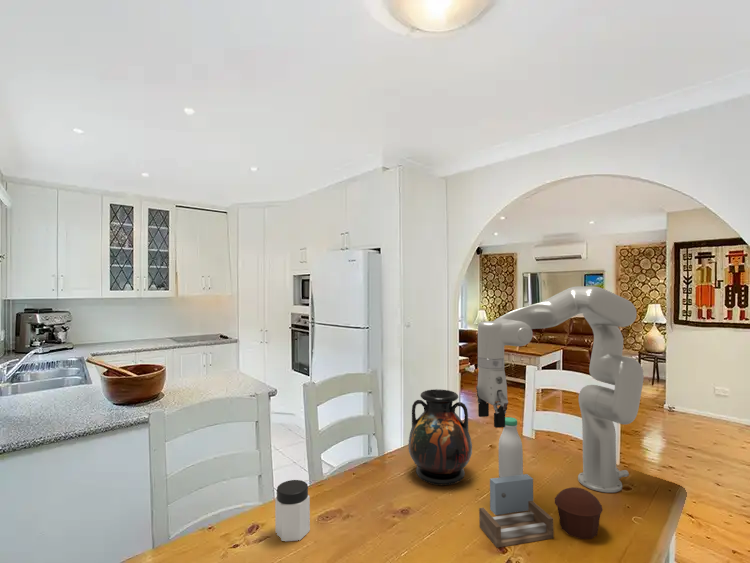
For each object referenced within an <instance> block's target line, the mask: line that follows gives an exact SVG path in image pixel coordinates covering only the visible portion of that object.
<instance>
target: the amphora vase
mask: <svg viewBox="0 0 750 563" xmlns="http://www.w3.org/2000/svg"><path fill="white" fill-rule="evenodd" d="M419 395H420V398H421V399H422V400H421V399H416V400H415V401H414V402H413V404H412V405H411V406H412V407H411V429H410V432H409V437H408V453H409V456H410V458H411V460H412V461H413V462H414V464H415V465H416V469H415V474H416V475H417V477H418V478H420V480H422V481H424V482H426V483H429V484H431V485H437V486H450V485H455V484H457V483H459V482H461V481H462V480H463V479H464V478H465V475H466V474H465V469H464V468H465V467H466V466H467V465H468V464H469V462H470V459H471V457H472V454H473V442H472V438H471V435H470V432H469V413H468V407H467V405H466V404H465V403H463V402H461V401H459V402H455V401H457V400H458V398H459V395H458V393H456V392H455V391H452V390H449V389H438V388H436V389H427V390H424V391H422V392H421V393H420V394H419ZM424 401H425V402H424ZM453 402H455V403H454V404H453ZM418 405H421V406H422V407H423V412H422V413H421V414H420V415H419V416H418V418H417V417H416V416H417V415H416V409H417V406H418ZM458 407H461V408H462V410H463V413H464V419H463V420H464V421H463V420H462V419H461V418H460V416H459V415H458V414H457V413H456V408H458Z"/></svg>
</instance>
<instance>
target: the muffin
mask: <svg viewBox="0 0 750 563" xmlns="http://www.w3.org/2000/svg"><path fill="white" fill-rule="evenodd" d="M554 504H555V506H556V507H557V513H558V518H559V525H560V530H562V531H563V532H565V534H567V535H569V536H571V537H575V538H577V539H579V540H585V539H586V540H592V539H594V538H595V537H597V536H598V531H599V526H600V519H601V514H602V513H603V510H604V509H603V506H602V504H601V503H600V501H599V499H598V498H597V497H596V496H595V495H594V494H593V493H591V492H590V491H588V490H587V489H584V488H581V487H572V486H571V487H568V488H564V489H562V490H561V491H560V492H558V494H556V496H555V497H554ZM594 536H595V537H594Z"/></svg>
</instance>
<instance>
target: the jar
mask: <svg viewBox="0 0 750 563" xmlns="http://www.w3.org/2000/svg"><path fill="white" fill-rule="evenodd" d="M308 487H309V485H308V483H307V482H306V481H304V480H301V479H293V480H292V479H291V480H287V481H284V482H281V483H280V484H279V485H278V486H277V487H276V497H275V498H274V500H275V501H274V502H275V506H274V507H275V508H274V510H275V516H274V517H275V520H274V521H275V523H274V524H275V526H274V527H275V534H276V533H277V534H276V536H277V537H278V536H279V537H280V538H281V539H280V538H279V537H278V538H279V539H280V540H281V542H282V541H285V542H298V540H299V541H301V540H302V539H303V538H304V537H305V536H306V535H307V534H308V533H309V532H310V531H311V522H310V520H311V518H310V517H311V513H310V512H311V507H310V506H311V504H310V499H311V497H310V494H309V488H308Z"/></svg>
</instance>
